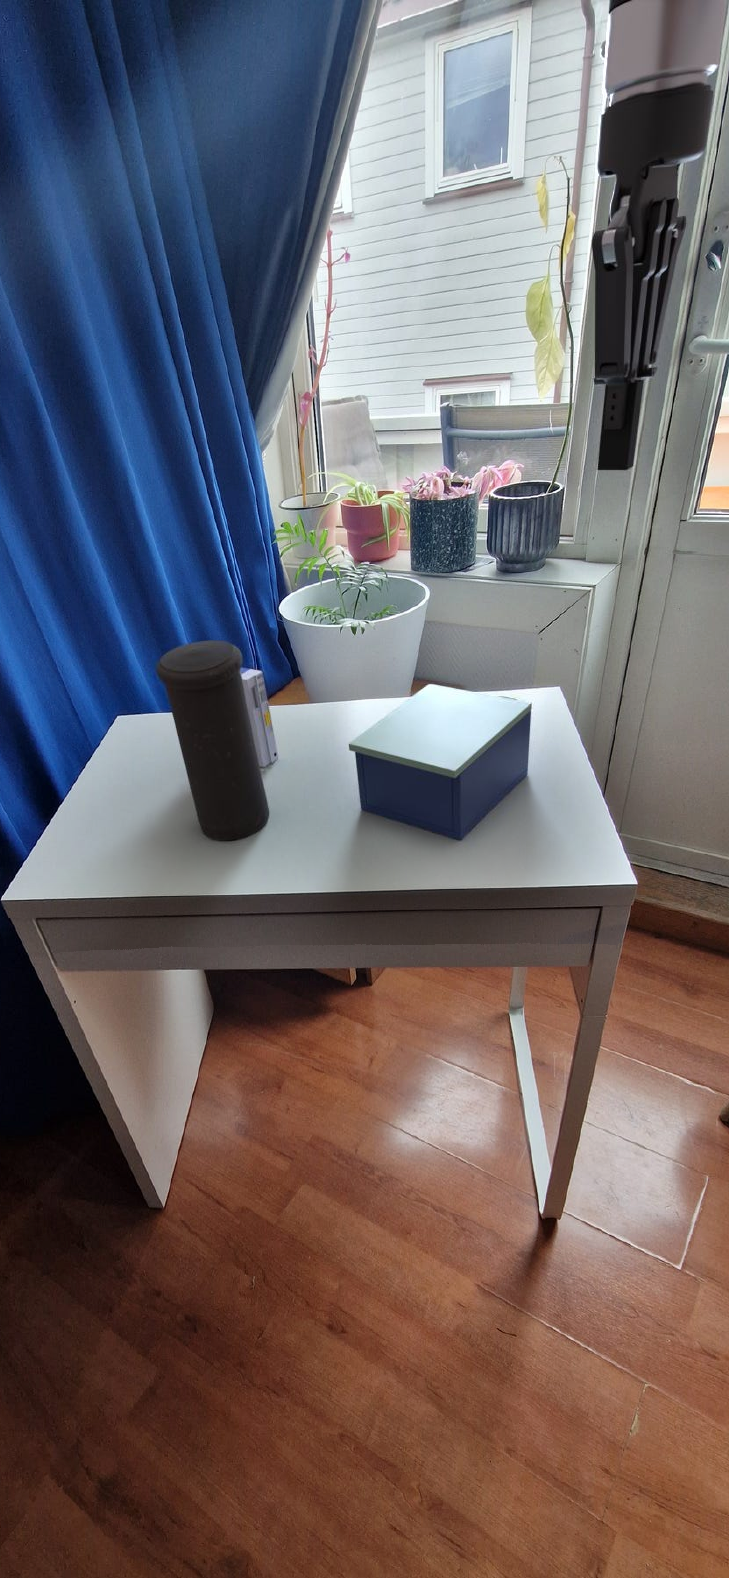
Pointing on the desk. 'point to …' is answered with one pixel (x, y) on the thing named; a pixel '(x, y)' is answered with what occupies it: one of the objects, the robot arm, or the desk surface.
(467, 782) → the case
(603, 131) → the robot arm
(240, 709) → the container
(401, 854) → the desk surface
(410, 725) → the case lid
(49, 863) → the desk surface
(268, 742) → the walkman
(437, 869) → the desk surface
